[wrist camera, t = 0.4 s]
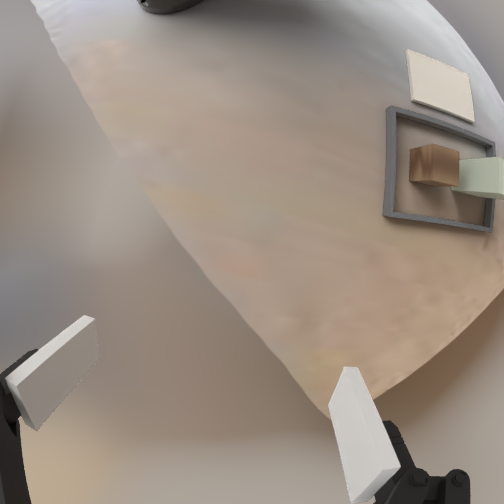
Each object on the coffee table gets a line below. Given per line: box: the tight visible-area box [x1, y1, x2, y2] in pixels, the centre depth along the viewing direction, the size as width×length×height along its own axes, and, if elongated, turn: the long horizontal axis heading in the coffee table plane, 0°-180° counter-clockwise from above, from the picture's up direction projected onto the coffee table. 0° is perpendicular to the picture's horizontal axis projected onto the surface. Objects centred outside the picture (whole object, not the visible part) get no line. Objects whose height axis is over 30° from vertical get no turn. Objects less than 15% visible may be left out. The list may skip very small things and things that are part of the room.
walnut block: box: [409, 144, 459, 187], centre depth 32 cm, size 5×5×7 cm
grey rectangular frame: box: [383, 106, 496, 233], centre depth 35 cm, size 17×24×2 cm
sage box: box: [451, 157, 504, 200], centre depth 30 cm, size 5×7×12 cm
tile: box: [405, 49, 475, 123], centre depth 32 cm, size 10×14×1 cm
